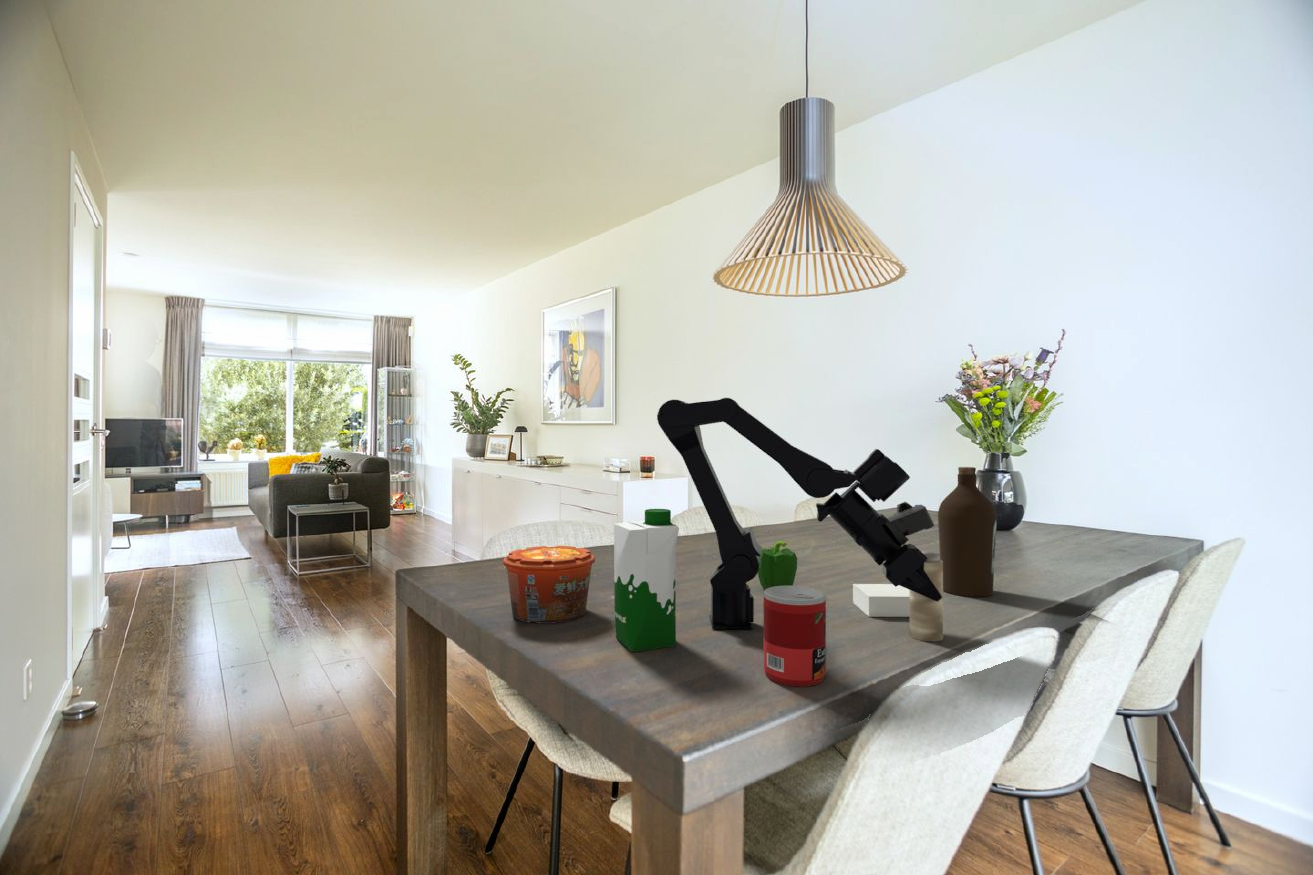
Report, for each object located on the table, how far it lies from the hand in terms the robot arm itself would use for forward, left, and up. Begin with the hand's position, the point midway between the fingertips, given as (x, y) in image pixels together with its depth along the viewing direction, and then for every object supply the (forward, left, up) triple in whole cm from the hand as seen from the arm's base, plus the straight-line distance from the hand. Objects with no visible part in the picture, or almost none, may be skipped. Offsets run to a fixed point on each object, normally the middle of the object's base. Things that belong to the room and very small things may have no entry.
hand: (935, 594), depth 97 cm
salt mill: (-1, 0, -7) cm, 7 cm away
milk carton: (-45, -3, -7) cm, 46 cm away
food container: (-63, +12, -7) cm, 64 cm away
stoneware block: (-2, +15, -7) cm, 17 cm away
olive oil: (+19, +28, -7) cm, 35 cm away
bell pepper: (-19, +30, -7) cm, 37 cm away
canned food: (-25, -16, -7) cm, 31 cm away
